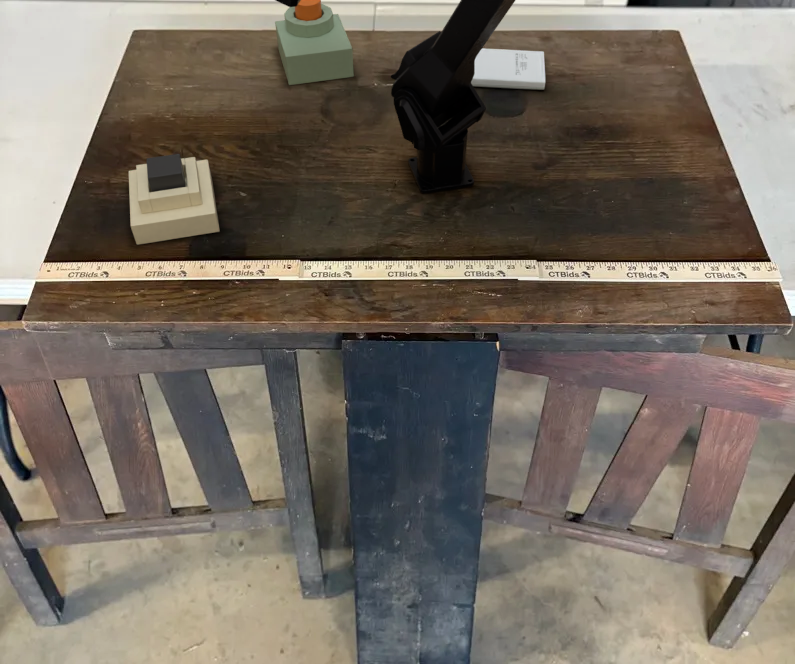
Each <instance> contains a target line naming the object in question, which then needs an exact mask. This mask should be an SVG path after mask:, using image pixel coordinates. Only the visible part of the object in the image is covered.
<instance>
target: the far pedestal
mask: <svg viewBox="0 0 795 664" xmlns="http://www.w3.org/2000/svg"><path fill="white" fill-rule="evenodd" d="M321 9H322V17H321V18H319V19H317V20H312V21H303V20H299V19H297V18H296V15H295V7H288V8H287V9H286V10H285V12H284V14H283V15H284V20H283V19H282V20H276V21H274V24H275V33H276V42H277V49H278V53H279V56H280V60H281V63H282V66H283V70H284V73H285V76H286V80H287V83H288V86H293V85H294V86H295V85H300V84H301V85H302V84H309V83H316V82H323V81H324V82H325V81H332V80H340V79H346V78H347V79H348V78H353V77H355V75H354V74H355V73H354V53H353V51H354V50H353V46H352V43H351V41H350V39H349V36H348V35H347V32H346V29H345V27H344V25H343V22H342V20H341V18H340V15H339V13H333V10H332V8H331V7H330V6H328V5H326V4H324V3H321Z"/></svg>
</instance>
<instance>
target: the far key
mask: <svg viewBox="0 0 795 664" xmlns="http://www.w3.org/2000/svg"><path fill="white" fill-rule="evenodd" d="M321 4H322V0H300V2H299V4H298V5H297V6H296V7H295V15H296V18H297V19H299V20H303V21H312V20H317V19H319V18H321V17H322V9H321Z"/></svg>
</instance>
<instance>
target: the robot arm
mask: <svg viewBox="0 0 795 664" xmlns="http://www.w3.org/2000/svg"><path fill="white" fill-rule="evenodd" d="M274 1H276V2H278V3H280V4H282V5H284V6H287V7H288V8H289V7H296V6H297V5H298V4H299V2H300V0H274ZM514 3H516V0H460V1H459V3H458V4H457V6H456V7H455V9H454V11H453V12H452V14H451V15H450V17H449V19H448V20H447V22H446V24H445V25H444V27H443V29H442V30H438V31H437V32H435V33H434V34H432V35H430V36H429V37H427V38H426V39H424V40H422V41H421V42H420V43H418V44H416V45H415V46H413V47H411V48H410V49H408V50H407V51H406V52H405V53H404V54H403V57H402V58H401V61H400V64H399V67H398V69H397V70H396V71H395V72H394V73H392V74H391V75H390V79H392V80H394V82H392V86H391V89H390V92H391V93H390V95H391V97H392V98H393V105H394V109H395V112H396V115H397V119H398V123H399V126H400V130H401V133H402V137H403V139H404V140H405V141H407V142H410V143H411V144H412V145H413V149H414V150H416V156H415V157H410V158H408V159H407V163H408V166H409V168H410V171H411V173H412V176H413V178H414V180H415V183H416V185H417V188H418V189H419V192H420V193H421V194H429V193H436V192H443V191H449V190H455V189H461V188H467V187H472V186H474V185H475V179H474V177H473V175H472V173H471V171H470V169H469V167H468V166H467V163H466V162H467V160H466V159H467V149H468V148H467V146H468V134H469V130H468V129H469V128H471V127H472V126H473V125H474V124H476V123H479V122H480V121H481V120H482V119H483V116H484V115H485V113H486V110H487V107H486V105H485V103H484V101H482V99H481V96H480V95H479V94H478V92H477V90H476V89H475V86H473V85H472V84H471V81H472V79H473V76H474V74H475V59H476V56H477V55H478V53H479V52H480V51H481V49H482V48H484V47H485V45H486V43H487V42H488V40H489V39H491V37H492V35H493V33H494V32H495V31H496V29H497V27H498V26H499V25H500V24H501V22H502V20H503V19H504V18H505V16H506V15H507V14H508V12H509V10H510V9H511V8H512V6H513V5H514Z"/></svg>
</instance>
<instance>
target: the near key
mask: <svg viewBox="0 0 795 664" xmlns="http://www.w3.org/2000/svg"><path fill="white" fill-rule="evenodd" d="M181 159H182V157H181V154H180V153H174V154H168V155H161V156H153V157H147V158H146V164H147V175H148V181H149V184H150V188H151V191H152V192H155V191H162V190H169V189H175V188H182V187H185V178H184V169H183V165H182V161H181Z"/></svg>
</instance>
